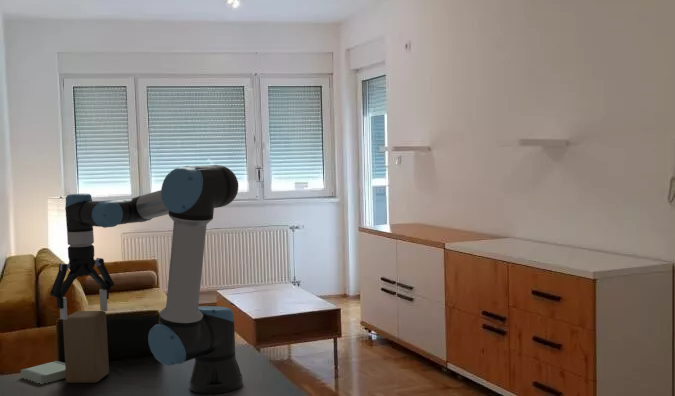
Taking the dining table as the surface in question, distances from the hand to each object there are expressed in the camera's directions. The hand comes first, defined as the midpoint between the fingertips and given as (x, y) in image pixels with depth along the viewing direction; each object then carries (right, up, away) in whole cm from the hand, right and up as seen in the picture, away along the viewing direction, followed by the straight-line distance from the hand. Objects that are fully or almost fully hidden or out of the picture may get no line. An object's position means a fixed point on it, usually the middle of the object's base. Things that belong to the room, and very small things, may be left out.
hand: (84, 314), depth 231 cm
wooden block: (+1, -20, +1) cm, 20 cm away
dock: (-12, -20, +5) cm, 24 cm away
